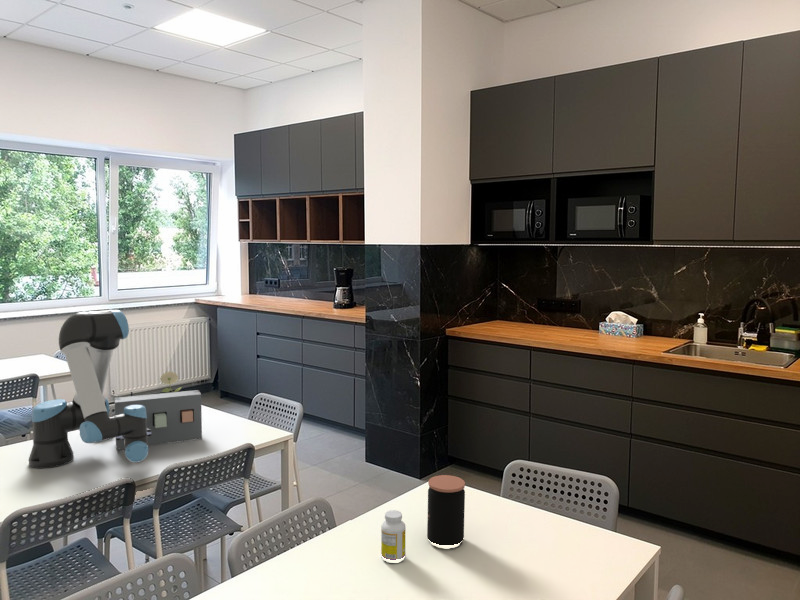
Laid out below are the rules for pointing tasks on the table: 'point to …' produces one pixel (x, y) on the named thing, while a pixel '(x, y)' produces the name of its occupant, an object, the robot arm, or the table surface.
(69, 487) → the table surface
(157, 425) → the sage key
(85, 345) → the robot arm
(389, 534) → the supplement bottle
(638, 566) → the table surface
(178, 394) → the keypad panel
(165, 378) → the flower in vase
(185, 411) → the terracotta key
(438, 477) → the coffee jar
